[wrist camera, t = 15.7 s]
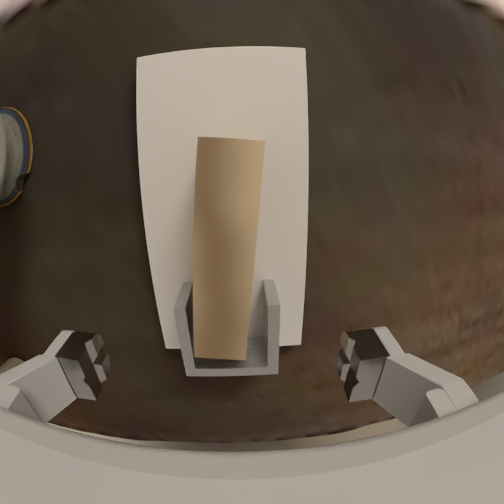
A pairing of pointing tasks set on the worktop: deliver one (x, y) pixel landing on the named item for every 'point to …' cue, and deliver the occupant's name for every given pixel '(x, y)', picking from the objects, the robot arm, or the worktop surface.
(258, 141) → the rail
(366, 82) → the worktop surface
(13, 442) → the robot arm
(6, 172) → the apothecary jar
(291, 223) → the bracket
